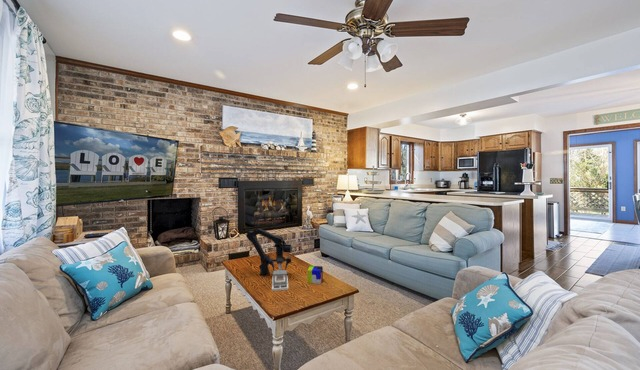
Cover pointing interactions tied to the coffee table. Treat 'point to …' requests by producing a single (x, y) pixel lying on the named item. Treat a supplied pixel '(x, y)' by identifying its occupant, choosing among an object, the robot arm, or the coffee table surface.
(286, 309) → the coffee table surface
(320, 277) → the puzzle toy
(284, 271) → the tunnel
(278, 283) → the board
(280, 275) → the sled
